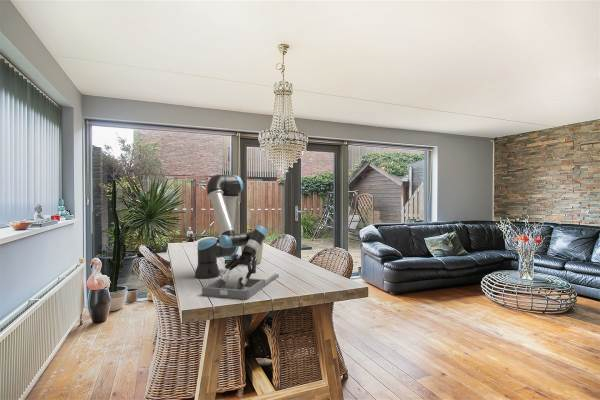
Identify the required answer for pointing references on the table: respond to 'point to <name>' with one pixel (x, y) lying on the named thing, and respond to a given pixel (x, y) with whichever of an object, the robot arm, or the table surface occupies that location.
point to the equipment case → (256, 283)
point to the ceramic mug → (234, 283)
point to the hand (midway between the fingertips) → (232, 282)
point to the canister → (258, 253)
